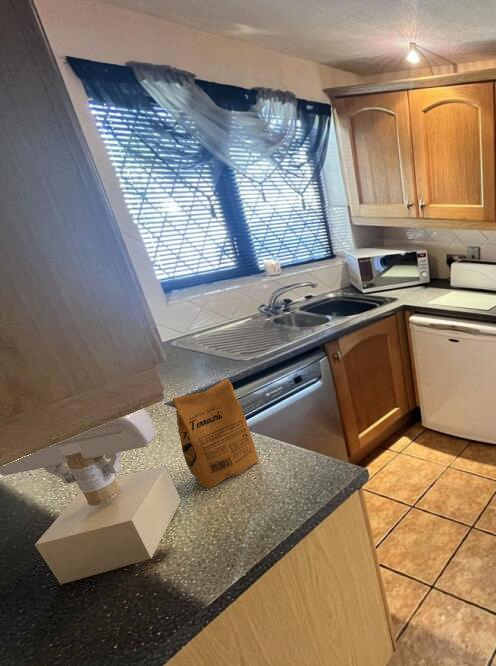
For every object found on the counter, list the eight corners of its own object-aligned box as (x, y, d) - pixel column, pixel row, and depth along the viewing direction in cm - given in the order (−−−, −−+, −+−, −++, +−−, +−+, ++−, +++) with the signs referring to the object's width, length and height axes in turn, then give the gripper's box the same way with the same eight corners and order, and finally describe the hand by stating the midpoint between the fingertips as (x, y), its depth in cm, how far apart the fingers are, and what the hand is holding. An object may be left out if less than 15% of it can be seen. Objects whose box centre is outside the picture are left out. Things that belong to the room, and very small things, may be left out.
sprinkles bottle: (105, 488, 73) (75, 429, 68) (129, 488, 73) (100, 429, 68) (80, 507, 69) (46, 446, 64) (105, 507, 69) (73, 446, 64)
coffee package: (189, 474, 90) (156, 394, 82) (248, 446, 99) (223, 372, 91) (203, 494, 85) (169, 410, 76) (264, 463, 94) (239, 384, 86)
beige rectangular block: (106, 519, 79) (86, 483, 75) (181, 500, 83) (166, 465, 79) (60, 584, 66) (34, 544, 62) (151, 558, 70) (131, 520, 67)
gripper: (-46, 437, 57) (0, 506, 63) (127, 407, 64) (156, 472, 70) (-12, 414, 63) (28, 480, 68) (144, 389, 70) (170, 450, 75)
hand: (94, 476), depth 69 cm, fingers closed on sprinkles bottle, 4 cm apart
